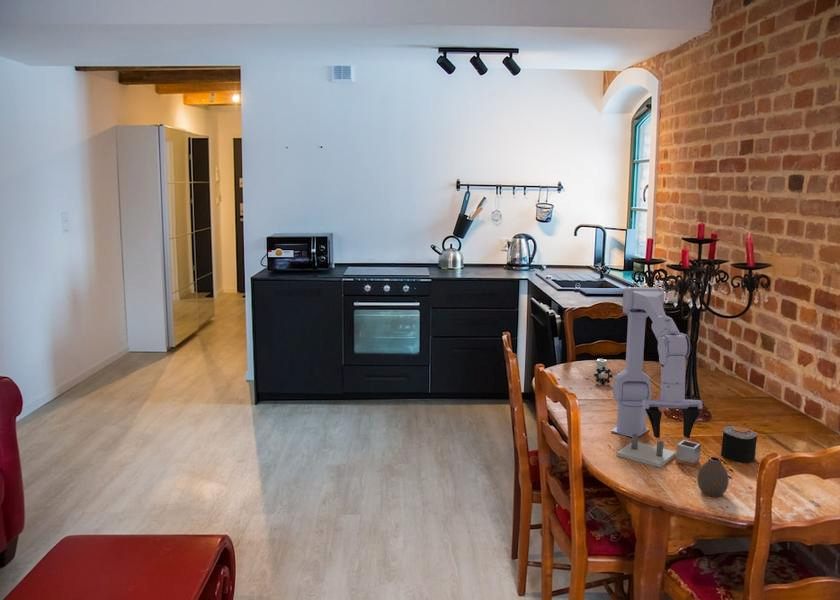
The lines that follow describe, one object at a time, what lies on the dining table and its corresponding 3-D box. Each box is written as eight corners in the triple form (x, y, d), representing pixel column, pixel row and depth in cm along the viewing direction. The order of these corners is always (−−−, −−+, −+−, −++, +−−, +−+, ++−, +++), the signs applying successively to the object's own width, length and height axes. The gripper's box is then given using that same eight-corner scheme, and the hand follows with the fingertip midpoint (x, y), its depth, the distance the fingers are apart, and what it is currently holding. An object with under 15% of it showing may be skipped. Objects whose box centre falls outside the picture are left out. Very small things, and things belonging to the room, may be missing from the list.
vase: (691, 492, 172) (694, 458, 171) (703, 484, 177) (707, 450, 176) (719, 502, 168) (723, 467, 166) (732, 493, 172) (735, 459, 171)
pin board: (633, 444, 203) (634, 427, 202) (675, 455, 195) (677, 437, 194) (616, 455, 194) (618, 438, 193) (660, 467, 187) (662, 449, 186)
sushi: (728, 448, 201) (731, 421, 199) (759, 457, 195) (762, 429, 193) (715, 456, 195) (718, 428, 194) (746, 465, 189) (749, 436, 188)
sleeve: (681, 457, 194) (683, 439, 193) (699, 461, 191) (700, 444, 190) (675, 462, 190) (677, 444, 190) (693, 467, 188) (694, 448, 187)
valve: (591, 375, 272) (593, 384, 260) (592, 358, 270) (594, 366, 259) (609, 376, 271) (612, 385, 259) (610, 359, 269) (613, 367, 258)
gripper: (650, 384, 175) (649, 440, 175) (708, 385, 176) (707, 440, 176) (639, 380, 182) (638, 434, 182) (695, 381, 183) (694, 434, 183)
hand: (671, 437), depth 180 cm, fingers open, 7 cm apart
